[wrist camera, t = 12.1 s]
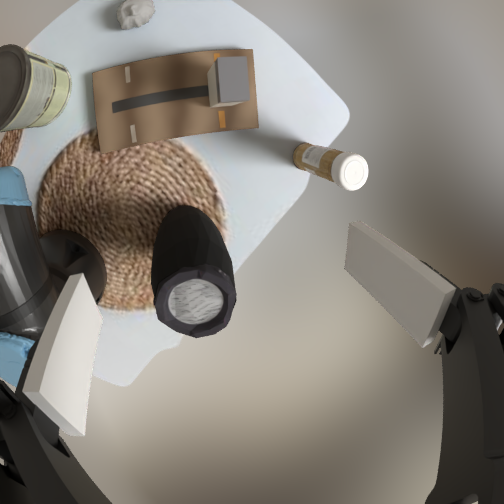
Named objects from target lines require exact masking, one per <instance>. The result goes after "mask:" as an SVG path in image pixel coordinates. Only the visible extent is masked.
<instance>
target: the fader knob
mask: <svg viewBox="0 0 504 504" xmlns="http://www.w3.org/2000/svg"><path fill="white" fill-rule="evenodd" d="M207 77H208V89H209V101H210V108H212V107H222V106H233V105H236V104H239V103H242V102H245V101H249V100H250V93H249V80H248V67H247V56H240V57H217V59H216V60H215V62H214V63H213V65H212V66H211V68H210V70H209V71H208V73H207Z"/></svg>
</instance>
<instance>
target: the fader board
mask: <svg viewBox="0 0 504 504" xmlns="http://www.w3.org/2000/svg"><path fill="white" fill-rule="evenodd" d="M240 56H247V67H248V80H249V93H250V100H249V101H245V102H242V103H239V104H236V105H233V106H222V107H212V108H210V101H209V89H208V77H207V73H208V71H209V70H210V68H211V66H212V65H213V63H214V62H215V60H216V59H217V57H240ZM92 75H93V92H94V104H95V114H96V123H97V131H98V138H99V145H100V151H101V154H104V153H108V152H112V151H116V150H120V149H124V148H128V147H132V146H137V145H141V144H146V143H151V142H156V141H161V140H167V139H172V138H178V137H184V136H191V135H197V134H205V133H212V132H221V131H230V130H240V129H252V128H259V125H258V111H257V97H256V84H255V71H254V59H253V49H234V50H213V51H201V52H191V53H182V54H175V55H168V56H162V57H156V58H150V59H145V60H140V61H136V62H131V63H127V64H123V65H119V66H115V67H111V68H108V69H104V70H101V71H97V72H94V73H92Z"/></svg>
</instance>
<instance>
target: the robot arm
mask: <svg viewBox="0 0 504 504" xmlns="http://www.w3.org/2000/svg"><path fill="white" fill-rule="evenodd" d="M31 206H32V202H31V201H30V200H29V197H28V193H27V189H26V185H25V180H24V176H23V174H22V172H21V171H20V170H19V169H18V168H16V167H13V166H6V167H0V377H1V378H3V379H4V380H5V381H7V382H8V383H9V384H11V385H13V386H15V387H16V391H15V393H14V392H13V391H12V390H11V389H10V388H9V387H8V386H7V385H6V384H5V382H4V381H1V380H0V458H2V459H3V460H4V465H1V464H0V504H112V503H111V502H110V501H109V500H108V498H106V496H105V495H104V494H103V493H102V492H101V490H100V489H99V488H98V487H97V486H96V485H95V483H94V482H93V481H92V480H91V478H90V477H89V476H88V474H87V473H86V472H85V470H84V469H83V468H82V467H81V465H80V464H79V462H78V461H77V459H76V458H75V457H74V455H73V454H72V452H71V451H70V449H69V448H68V446H67V445H66V443H65V442H64V440H63V439H62V438H61V437H60V436H59V428H60V429H62V430H63V431H64V432H65V433H66V434H68V435H72V436H85V427H86V416H87V406H88V398H89V391H90V384H91V377H92V371H93V365H94V360H95V355H96V349H97V344H98V340H99V335H100V331H101V326H102V322H103V317H102V315H101V313H100V311H99V309H98V307H97V304H98V303H99V302H100V300H101V298H102V296H103V293H104V290H105V287H106V282H107V272H106V267H105V264H104V261H103V259H102V257H101V255H100V253H99V252H98V250H97V249H96V248H95V247H94V245H93V244H92V243H91V242H90V241H88V240H87V239H86V238H84V237H83V236H81V235H79V234H77V233H75V232H72V231H69V230H53V231H50V232H48V233H46V234H44V235H43V236H42V237H41V238H40V239H39V236H38V233H37V229H36V225H35V221H34V217H33V213H32V208H31ZM344 269H345V270H346V271H347V272H348V273H349V274H350V275H351V276H352V277H353V278H354V279H355V280H356V281H358V282H359V283H360V284H361V285H362V286H363V287H364V288H365V289H366V290H367V291H368V292H369V293H370V294H371V295H372V296H373V297H374V298H375V299H376V300H377V301H378V302H379V303H380V304H381V305H382V306H383V307H384V308H385V309H386V310H387V311H388V312H389V313H390V314H391V315H392V316H393V317H394V319H395V320H396V321H397V322H398V323H399V324H400V325H401V326H402V327H403V328H404V329H405V330H406V331H407V332H408V333H409V334H410V335H411V336H412V337H413V338H414V339H415V340H416V342H417V343H418V344H419V345H420V346H421V347H425V346H426V345H428V344H430V343H431V342H433V341H434V339H435V337H436V335H437V333H438V331H440V332H441V333H442V334H443V335H442V337H441V339H440V341H439V343H438V345H437V347H436V349H435V351H434V353H435V354H436V353H437V351H438V350H439V348H441V352H440V353H439V354H441V355H442V366H443V394H444V397H443V400H444V401H443V405H444V406H443V431H442V443H441V453H440V462H439V468H438V475H437V480H436V484H435V487H434V489H433V490H432V491H431V493H430V494H429V496H428V497H427V499H426V502H425V504H472V503H474V502H476V501H478V504H504V329H503V330H502V332H501V334H500V335H499V334H498V332H497V330H498V328H499V326H500V324H501V323H502V321H503V323H504V284H500V283H495V284H493V286H492V288H491V291H490V293H489V294H484V295H483V294H482V293H481V292H480V291H478V290H477V289H474V288H468V287H467V288H464V289H463V290H461V289H460V288H458V287H457V286H456V285H455V284H453V283H452V282H451V281H449V280H448V279H447V278H446V277H444V276H443V275H442V274H439V272H437V271H436V270H435V269H434V270H433V268H432V267H431V266H429V265H428V264H427V263H425V262H423V261H421V260H418V259H416V258H415V257H414V256H412V255H411V254H410V253H408V252H407V251H405V250H404V249H402V248H401V247H400V246H398V245H397V244H395V243H394V242H392V241H391V240H389V239H388V238H386V237H385V236H383V235H382V234H380V233H378V232H377V231H376V230H374V229H372V228H371V227H369V226H368V225H366V224H365V223H363V222H361V221H358V222H353V223H349V230H348V241H347V251H346V260H345V268H344Z"/></svg>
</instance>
